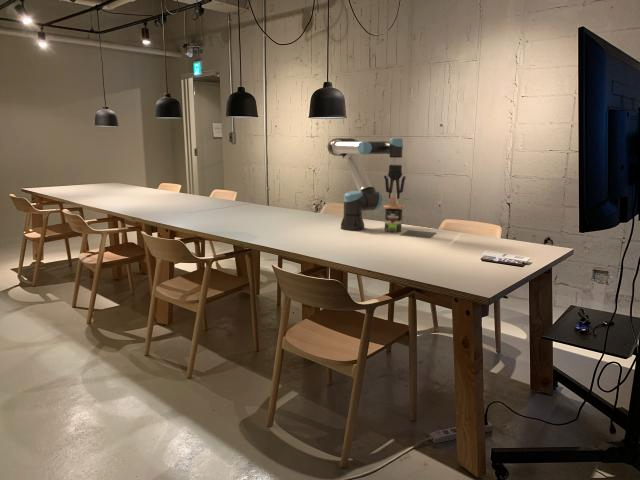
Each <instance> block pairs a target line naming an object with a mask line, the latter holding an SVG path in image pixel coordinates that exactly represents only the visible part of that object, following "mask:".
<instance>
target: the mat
mask: <svg viewBox="0 0 640 480" xmlns="http://www.w3.org/2000/svg"><path fill="white" fill-rule="evenodd" d="M436 234H437V232H434V231H424V230H423V231H422V230H421V231H420V230H414V229H413V230H412V229H411V230H410V229H408V230H406V231H405V232H402V234H400V236H403V237H413V238H422V239H424V238H425V239H432V238H433V237H434V236H435V235H436Z"/></svg>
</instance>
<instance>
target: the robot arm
mask: <svg viewBox="0 0 640 480" xmlns="http://www.w3.org/2000/svg"><path fill="white" fill-rule="evenodd" d="M403 141H404V140H403V138H400V137H394V138H393V137H391V138H390V139H389V141H386V140H381V141H376V140H375V141H370V140H369V141H367V140H366V141H363V140H362V141H360V140H358V139H356V138H355V137H353V138H352V137H336V138H332V139H331V140H329V142H328V143H327V151H328V153H329V154H331V155H332V156H336V157H342V160H343V161H344V162H347V165H348V168H349V170H350V173H351V176H352V178H353V180H354V183H355V185H356V188H357V189H358V190H350V191H347V192H345V193H344V194H343V217H342V220H341V222H340V229H341V230H345V231H362V230H364V229H365V223H364V220H363V212H366V211H376V210H378V209H380V208H381V207H382V206H383V195H382V193H381V192H379V191H377V190H376V188H375V187H374V186H373V185H372V184H371V182H370V180H369V177H368V176H367V173H366V171H365V169H364V166H363V163H362V161H361V158H360V155H389V160H388V163H389V166H388V173H387V174H386V175H383V179H384V181H385V192H386V193H388V199H391V198H392V197H395V205H397V204H399V199H400V198H401V197H400V195H401V193H404V187H405V180H406V179H407V176H405V175H403V172H402V170H403V169H402V168H403V166H402V164H403V147H404V144H403ZM389 179H390V181H389ZM400 179H401V181H400ZM394 182H395V185H396V192H395V196H394V192H393V188H394Z"/></svg>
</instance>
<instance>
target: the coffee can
mask: <svg viewBox="0 0 640 480" xmlns="http://www.w3.org/2000/svg"><path fill="white" fill-rule="evenodd" d="M384 209H385V210H384V211H385V213H384V233H387V234H400V233H402V224H403V223H402V221H403V209H389V208H384Z"/></svg>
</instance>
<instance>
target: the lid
mask: <svg viewBox="0 0 640 480" xmlns="http://www.w3.org/2000/svg"><path fill="white" fill-rule="evenodd" d="M395 197H396V196H393V197H392V198H391V199H390V198H389V199H390V200H389V201H390V202H389V203H388V204H386V203H385V204H382V207H383V208H384V209H401V210H403V209H405V207H406V205H404V204H400V203H398V204H397V205H395Z"/></svg>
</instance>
